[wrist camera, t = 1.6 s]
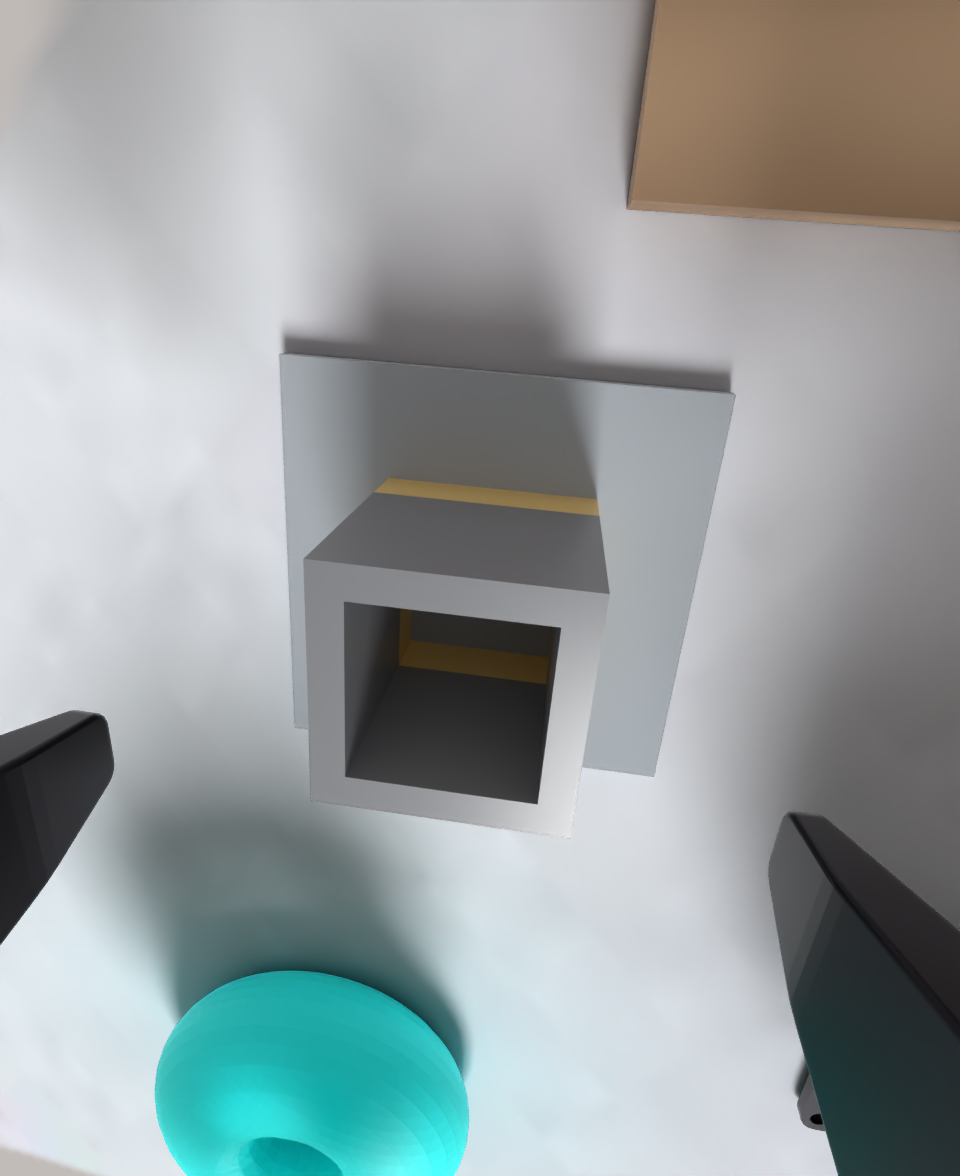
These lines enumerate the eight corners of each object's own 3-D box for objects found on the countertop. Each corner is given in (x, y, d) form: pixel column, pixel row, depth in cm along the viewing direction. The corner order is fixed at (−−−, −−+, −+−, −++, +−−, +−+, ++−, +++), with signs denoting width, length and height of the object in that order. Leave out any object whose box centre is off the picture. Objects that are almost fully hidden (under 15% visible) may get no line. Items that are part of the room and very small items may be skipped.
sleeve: (570, 683, 16) (570, 838, 11) (384, 659, 16) (311, 800, 12) (597, 499, 14) (609, 594, 9) (388, 478, 14) (303, 558, 10)
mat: (651, 766, 17) (653, 777, 16) (300, 718, 18) (294, 727, 17) (731, 392, 13) (736, 394, 13) (287, 352, 14) (278, 354, 14)
